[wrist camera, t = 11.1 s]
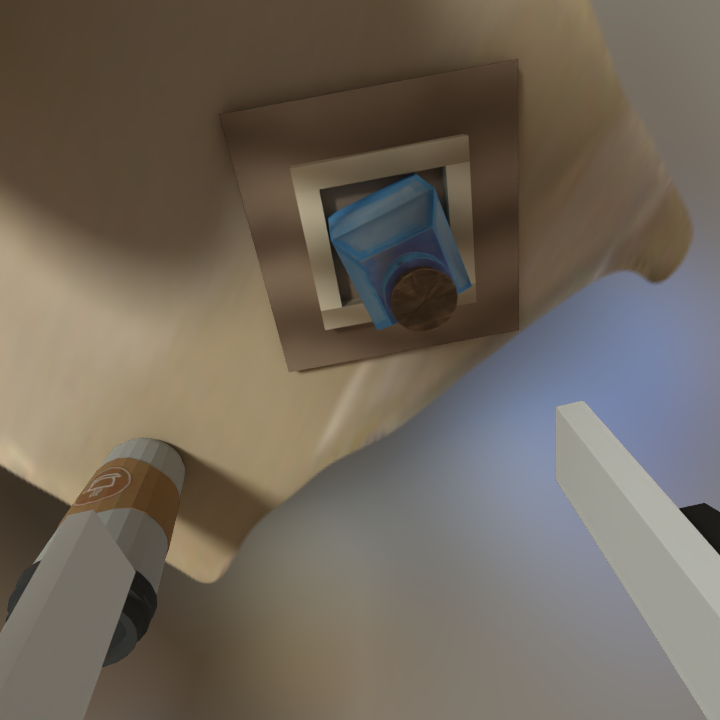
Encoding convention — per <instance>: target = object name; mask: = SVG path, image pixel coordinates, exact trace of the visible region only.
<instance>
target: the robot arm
mask: <svg viewBox="0 0 720 720" xmlns="http://www.w3.org/2000/svg"><path fill="white" fill-rule="evenodd" d="M556 480H557V482H558V484H559V485H560V487H561V488H562V490H563V492H564V493H565V495H566V496H567V498H568V499H569V501H570V503H571V504H572V506H573V507H574V509H575V511H576V512H577V513H578V515H579V517H580V518H581V520H582V522H583V523H584V525H585V526H586V528H587V529H588V531H589V533H590V534H591V536H592V537H593V539H594V541H595V542H596V544H597V545H598V547H599V548H600V550H601V552H602V553H603V555H604V556H605V558H606V560H607V561H608V563H609V564H610V566H611V567H612V569H613V571H614V572H615V574H616V575H617V577H618V578H619V580H620V582H621V583H622V585H623V586H624V588H625V590H626V591H627V592H628V594H629V596H630V597H631V599H632V601H633V602H634V604H635V605H636V607H637V609H638V610H639V612H640V613H641V615H642V616H643V618H644V620H645V621H646V622H647V624H648V626H649V627H650V629H651V630H652V632H653V634H654V635H655V637H656V638H657V640H658V642H659V643H660V645H661V646H662V648H663V650H664V651H665V653H666V654H667V656H668V657H669V659H670V661H671V662H672V664H673V665H674V667H675V669H676V670H677V672H678V673H679V675H680V676H681V678H682V680H683V681H684V683H685V684H686V686H687V687H688V689H689V691H690V692H691V694H692V695H693V697H694V698H695V700H696V702H697V703H698V705H699V706H700V708H701V709H702V711H703V713H704V714H705V716H706V717H707V719H708V720H720V512H719V511H717V510H715V509H714V508H712V507H710V506H709V505H707V504H705V503H703V504H698V505H693V506H688V507H684V508H679V509H678V508H677V506H676V505H675V504H674V503H673V502H672V501H671V500H670V498H669V497H668V496H667V495H666V494H665V493H664V492H663V491H662V489H661V488H660V487H659V486H658V485H657V484H656V483H655V481H654V480H653V479H652V478H651V477H650V476H649V475H648V473H647V472H646V471H645V470H644V469H643V468H642V467H641V466H640V464H639V463H638V462H637V461H636V460H635V459H634V458H633V456H632V455H631V454H630V453H629V452H628V451H627V450H626V448H625V447H624V446H623V445H622V444H621V443H620V442H619V441H618V439H617V438H616V437H615V436H614V435H613V434H612V433H611V431H610V430H609V429H608V428H607V427H606V426H605V425H604V424H603V422H602V421H601V420H600V419H599V418H598V417H597V416H596V414H595V413H594V412H593V411H592V410H591V409H590V408H589V406H588V405H587V404H586V403H585V402H584V401H579V402H575V403H570V404H566V405H561V406H557V407H556ZM135 572H136V571H135V570H134V568H133V567H132V565H131V564H130V562H129V561H128V560H127V558H126V557H125V555H124V554H123V552H122V551H121V549H120V548H119V546H118V545H117V543H116V542H115V540H114V539H113V538H112V536H111V535H110V533H109V532H108V530H107V529H106V527H105V526H104V524H103V523H102V521H101V520H100V519H99V517H98V516H97V514H96V513H95V511H94V510H89V511H84V512H80V513H75V514H71V515H67V516H66V518H65V519H64V521H63V523H62V525H61V527H60V528H59V530H58V532H57V534H56V535H55V537H54V539H53V541H52V543H51V544H50V546H49V548H48V550H47V551H46V553H45V555H44V557H43V558H42V560H41V562H40V564H39V566H38V567H37V569H36V571H35V573H34V574H33V576H32V578H31V580H30V581H29V583H28V585H27V587H26V589H25V590H24V592H23V594H22V596H21V597H20V599H19V601H18V603H17V605H16V606H15V608H14V610H13V612H12V613H11V615H10V617H9V619H8V620H7V622H6V624H5V626H4V628H3V629H2V631H1V633H0V720H83V718H84V715H85V712H86V710H87V707H88V704H89V701H90V699H91V696H92V693H93V690H94V687H95V684H96V682H97V679H98V676H99V673H100V671H101V668H102V665H103V662H104V659H105V657H106V654H107V651H108V648H109V645H110V643H111V640H112V637H113V634H114V631H115V629H116V626H117V623H118V620H119V617H120V615H121V612H122V609H123V606H124V603H125V600H126V598H127V595H128V592H129V589H130V586H131V584H132V581H133V578H134V575H135Z"/></svg>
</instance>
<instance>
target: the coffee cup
mask: <svg viewBox="0 0 720 720" xmlns="http://www.w3.org/2000/svg"><path fill="white" fill-rule="evenodd" d="M184 478H185V467H184V464H183V462H182V459H181V457H180V455H179V454H178V453H177V451H176V450H175V449H173V448H172V447H171V446H170V445H168V444H166V443H164V442H162V441H159V440H155V439H152V438H137V439H132V440H129V441H127V442H125V443H123V444H120V445H119V446H117V447H116V448H115V449H113V450H112V452H111V453H110V454H109V456H108V457H107V459H106V460H105V462H104V463H103V464H102V466H101V467H100V469H98V470H97V471H96V473H95V474H94V475H93V477H92V478H91V480H90V481H89V482H88V484H87V485H86V487H85V488H84V490H83V491H82V492H81V494H80V495H79V497H78V498H77V500H76V501H75V502H74V504H73V505H72V507H71V508H70V509H69V511H68V512H67V514H66V515H65V517H64V518H63V520H62V521H61V522H60V524H59V525H58V529H57V531H56V532H55V533H54V535H53V536H52V538H51V539H50V541H49V542H48V543H47V545H46V546H45V548H44V549H43V551H42V552H41V554H40V555H39V557H38V558H37V559H36V561H35V562H34V564H33V565H31V566H30V567H29V568H27V569H26V570H25V571H24V572H23V573H22V575H21V576H20V578H19V579H18V581H17V584H16V588H15V590H14V591H13V593H12V594H11V596H10V598H9V603H8V613H9V614H8V616H7V618H6V622H7V620H8V619H9V617H10V615H11V613H12V612H13V610H14V608H15V606H16V605H17V603H18V601H19V599H20V597H21V596H22V594H23V592H24V590H25V589H26V587H27V585H28V583H29V581H30V580H31V578H32V576H33V574H34V573H35V571H36V569H37V567H38V566H39V564H40V562H41V560H42V558H43V557H44V555H45V553H46V551H47V550H48V548H49V546H50V544H51V543H52V541H53V539H54V537H55V535H56V534H57V532H58V530H59V528H60V527H61V525H62V523H63V521H64V519H65V518H66V516H67V515H71V514H75V513H80V512H84V511H89V510H94V511H95V513H96V514H97V516H98V517H99V519H100V520H101V521H102V523H103V524H104V526H105V527H106V529H107V530H108V532H109V533H110V535H111V536H112V538H113V539H114V540H115V542H116V543H117V545H118V546H119V548H120V549H121V551H122V552H123V554H124V555H125V557H126V558H127V560H128V561H129V562H130V564H131V565H132V567H133V568H134V570H135V571H136V572H135V575H134V578H133V581H132V584H131V586H130V589H129V592H128V595H127V598H126V600H125V603H124V606H123V609H122V612H121V615H120V617H119V620H118V623H117V626H116V629H115V631H114V634H113V637H112V640H111V643H110V645H109V648H108V651H107V654H106V657H105V659H104V662H103V665H102V667H105V666H107V665H110V664H113V663H116V662H118V661H120V660H121V659H123V658H125V657H126V656H128V654H129V653H130V652H131V651H132V650H133V649H134V647H135V645H136V643H137V642H138V641H139V640H140V639H141V638H142V637H143V635H144V634H145V633H146V632H147V629H148V627H149V624H150V621H151V619H152V618H153V616H154V613H155V610H156V608H157V591H158V587H159V583H160V578H161V574H162V570H163V566H164V562H165V558H166V555H167V552H168V550H169V546H170V542H171V537H172V533H173V529H174V525H175V520H176V516H177V512H178V508H179V503H180V495H181V491H182V487H183V483H184Z"/></svg>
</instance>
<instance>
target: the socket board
mask: <svg viewBox="0 0 720 720" xmlns="http://www.w3.org/2000/svg"><path fill="white" fill-rule="evenodd" d="M219 116H220V120H221V124H222V127H223V131H224V135H225V138H226V142H227V146H228V149H229V153H230V157H231V160H232V164H233V168H234V172H235V175H236V179H237V183H238V186H239V190H240V194H241V197H242V201H243V205H244V208H245V212H246V216H247V219H248V223H249V227H250V230H251V234H252V238H253V241H254V245H255V249H256V252H257V256H258V260H259V263H260V267H261V271H262V274H263V278H264V282H265V286H266V289H267V293H268V297H269V300H270V304H271V308H272V311H273V315H274V319H275V322H276V326H277V330H278V333H279V337H280V341H281V344H282V348H283V352H284V355H285V359H286V363H287V366H288V370H289V372H293V371H299V370H304V369H310V368H315V367H321V366H326V365H331V364H337V363H342V362H348V361H353V360H359V359H364V358H370V357H375V356H380V355H386V354H391V353H397V352H402V351H408V350H413V349H418V348H424V347H429V346H435V345H440V344H446V343H451V342H456V341H462V340H467V339H473V338H478V337H484V336H489V335H494V334H500V333H505V332H511V331H516V330H519V266H518V59H515V60H509V61H504V62H499V63H493V64H488V65H483V66H477V67H472V68H466V69H461V70H456V71H450V72H445V73H440V74H434V75H429V76H423V77H418V78H413V79H407V80H402V81H397V82H391V83H386V84H380V85H375V86H370V87H364V88H359V89H354V90H348V91H343V92H338V93H332V94H327V95H321V96H316V97H311V98H305V99H300V100H295V101H289V102H284V103H278V104H273V105H268V106H262V107H257V108H252V109H246V110H241V111H235V112H230V113H225V114H219ZM412 172H414V173H415V174H417V175H418V176H419V177H421V178H422V179H423V180H425V181H426V182H428V183H429V184H430V185H432V186H433V187H434V188H435V191H436V193H437V196H438V198H439V201H440V204H441V206H442V209H443V211H444V214H445V217H446V219H447V222H448V224H449V227H450V230H451V232H452V235H453V237H454V240H455V243H456V245H457V248H458V250H459V253H460V256H461V258H462V261H463V264H464V266H465V269H466V271H467V274H468V277H469V279H470V282H471V284H472V287H470V288H468V289H467V290H465V291H463V292H461V293H460V294H458V300H457V307H456V309H455V311H454V313H453V315H452V317H451V318H450V319H449V320H448V321H447V322H446V323H445V324H444V325H442V326H441V327H439V328H437V329H435V330H432V331H428V332H414V331H411V330H407V329H406V328H404V327H403V326H401V325H400V324H399V323H396V324H394V325H391V326H389V327H386V328H383V329H381V330H378V331H377V329H376V327H375V325H374V323H373V321H372V319H371V317H370V315H369V313H368V311H367V309H366V308H365V306H364V304H363V302H362V300H361V298H360V296H359V294H358V292H357V290H356V288H355V286H354V284H353V282H352V280H351V278H350V277H349V275H348V273H347V271H346V269H345V267H344V265H343V263H342V261H341V259H340V257H339V255H338V253H337V251H336V249H335V247H334V246H333V244H332V242H331V238H330V230H329V222H328V216H329V215H331V214H333V213H335V212H337V211H338V210H340V209H342V208H344V207H346V206H348V205H350V204H352V203H354V202H356V201H358V200H360V199H362V198H364V197H366V196H368V195H370V194H371V193H373V192H375V191H377V190H379V189H381V188H383V187H385V186H387V185H389V184H391V183H393V182H395V181H397V180H399V179H401V178H403V177H404V176H406V175H408V174H410V173H412Z"/></svg>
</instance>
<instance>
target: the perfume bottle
mask: <svg viewBox="0 0 720 720" xmlns="http://www.w3.org/2000/svg"><path fill="white" fill-rule="evenodd" d="M328 222H329V230H330V238H331V242H332V244H333V246H334V247H335V249H336V251H337V253H338V255H339V257H340V259H341V261H342V263H343V265H344V267H345V269H346V271H347V273H348V275H349V277H350V278H351V280H352V282H353V284H354V286H355V288H356V290H357V292H358V294H359V296H360V298H361V300H362V302H363V304H364V306H365V308H366V309H367V311H368V313H369V315H370V317H371V319H372V321H373V323H374V325H375V327H376V329H377V331H378V330H381V329H383V328H386V327H389V326H391V325H394V324H396V323H399V324H400V325H401V326H403V327H404V328H406V329H407V330H411V331H414V332H428V331H432V330H435V329H437V328H439V327H441V326H442V325H444V324H445V323H446V322H447V321H448V320H449V319H450V318H451V317H452V315H453V313H454V311H455V309H456V307H457V300H458V294H460V293H461V292H463V291H465V290H467V289H468V288H470V287H472V284H471V282H470V279H469V277H468V274H467V271H466V269H465V266H464V264H463V261H462V258H461V256H460V253H459V250H458V248H457V245H456V243H455V240H454V237H453V235H452V232H451V230H450V227H449V224H448V222H447V219H446V217H445V214H444V211H443V209H442V206H441V204H440V201H439V198H438V196H437V193H436V191H435V188H434V187H433V186H432V185H430V184H429V183H428V182H426V181H425V180H423V179H422V178H421V177H419V176H418V175H417V174H415V173H414V172H412V173H410V174H408V175H406V176H404V177H403V178H401V179H399V180H397V181H395V182H393V183H391V184H389V185H387V186H385V187H383V188H381V189H379V190H377V191H375V192H373V193H371V194H370V195H368V196H366V197H364V198H362V199H360V200H358V201H356V202H354V203H352V204H350V205H348V206H346V207H344V208H342V209H340V210H338V211H337V212H335V213H333V214H331V215H329V216H328Z"/></svg>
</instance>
